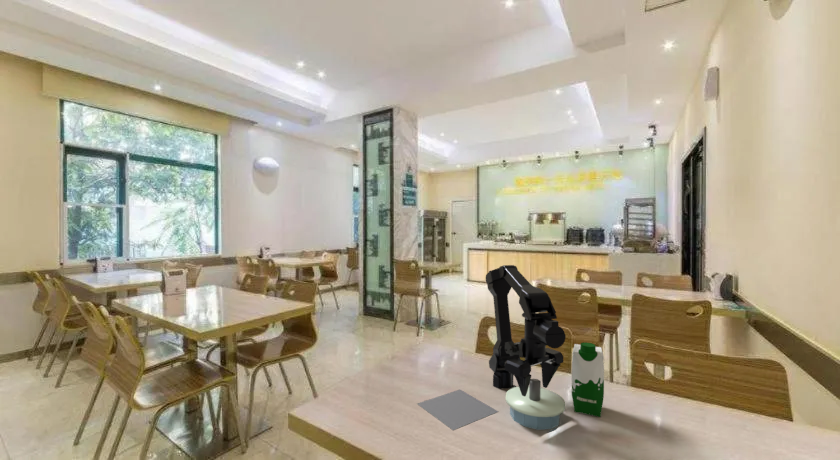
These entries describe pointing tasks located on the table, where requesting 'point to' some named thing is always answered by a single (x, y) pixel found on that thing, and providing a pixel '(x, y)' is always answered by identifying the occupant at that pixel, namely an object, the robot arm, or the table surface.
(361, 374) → the table surface
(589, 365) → the milk carton
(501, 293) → the robot arm
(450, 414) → the mat
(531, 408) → the lid
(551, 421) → the ring
